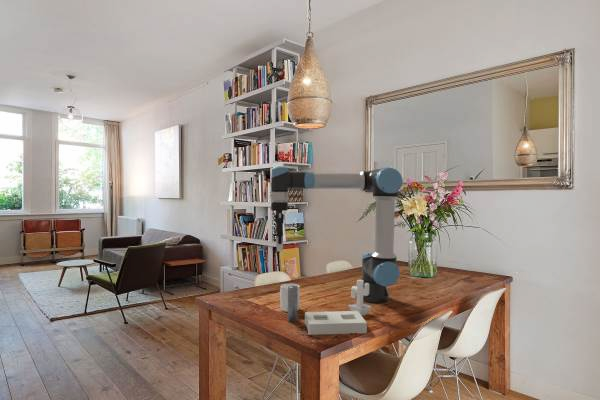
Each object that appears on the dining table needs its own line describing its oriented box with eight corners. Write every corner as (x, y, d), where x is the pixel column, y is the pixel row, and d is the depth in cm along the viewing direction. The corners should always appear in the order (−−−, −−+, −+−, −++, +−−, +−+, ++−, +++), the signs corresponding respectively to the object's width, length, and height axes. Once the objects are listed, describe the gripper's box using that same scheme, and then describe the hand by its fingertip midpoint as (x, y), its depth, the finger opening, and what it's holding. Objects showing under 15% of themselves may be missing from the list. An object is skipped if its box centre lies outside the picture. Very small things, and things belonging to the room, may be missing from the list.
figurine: (357, 309, 170) (357, 276, 169) (373, 315, 162) (374, 280, 162) (346, 312, 165) (346, 279, 165) (362, 318, 158) (362, 283, 157)
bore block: (357, 320, 155) (357, 310, 155) (366, 333, 142) (366, 322, 141) (304, 321, 153) (305, 312, 153) (309, 334, 139) (309, 324, 139)
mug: (287, 303, 178) (287, 281, 178) (303, 309, 169) (303, 286, 168) (272, 306, 173) (272, 283, 172) (287, 313, 163) (288, 289, 163)
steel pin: (296, 318, 157) (297, 285, 157) (297, 321, 153) (298, 287, 153) (287, 318, 157) (287, 285, 156) (287, 322, 153) (288, 288, 152)
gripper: (271, 200, 180) (270, 244, 180) (271, 202, 155) (271, 253, 155) (286, 201, 180) (286, 244, 181) (289, 202, 156) (289, 253, 156)
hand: (279, 248), depth 168 cm, fingers open, 13 cm apart
